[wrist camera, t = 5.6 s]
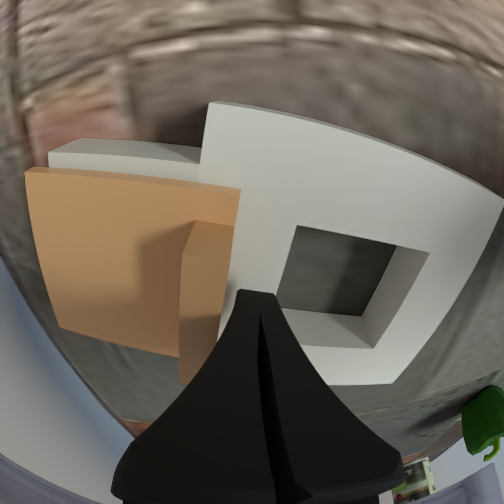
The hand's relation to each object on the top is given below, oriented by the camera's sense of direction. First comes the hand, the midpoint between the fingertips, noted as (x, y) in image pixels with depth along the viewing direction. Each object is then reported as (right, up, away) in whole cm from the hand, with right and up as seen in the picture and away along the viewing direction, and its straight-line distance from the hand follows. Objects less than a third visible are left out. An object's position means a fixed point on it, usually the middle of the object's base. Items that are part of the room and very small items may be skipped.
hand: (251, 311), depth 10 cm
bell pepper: (+31, -18, +16) cm, 39 cm away
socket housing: (+1, +2, +3) cm, 4 cm away
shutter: (-5, +1, 0) cm, 5 cm away
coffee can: (+36, -47, +34) cm, 68 cm away
